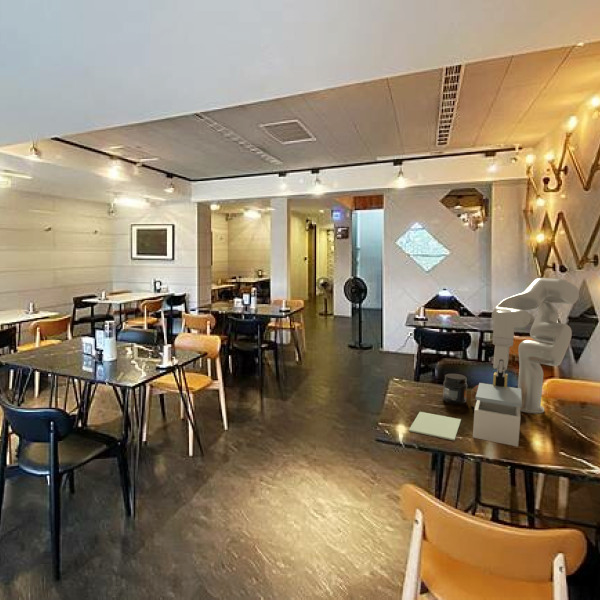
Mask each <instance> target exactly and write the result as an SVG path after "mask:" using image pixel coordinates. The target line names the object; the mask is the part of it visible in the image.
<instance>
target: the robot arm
mask: <svg viewBox="0 0 600 600" xmlns="http://www.w3.org/2000/svg"><path fill="white" fill-rule="evenodd" d="M579 298H580V291H579V288H578V287H577V286H576V285H574V284H573V283H571V282H570V281H568V280H565V279H563V278H554V277H553V278H550V277H539V278H538V277H537V278H535V279H534V280H533V281H532V282H531V283H530V284H529V285H528V286H527V287H526V288H525V289H524V290H523V291H522V292H521V293H518V294H515V295H512V296H510V297H506V298H504V299H503V300H501V301H500V302H498V304H497V305H496V306H495V307H494V309H493V311H492V313H491V320H492V322H493V330H492V345H494V350H493V351H494V353H493V370H495V369H496V373H497V376H496V384H495V385H496V386H501V387H504V382H505V377H504V374H506V373H505V371H506V370H507V369H508V363H509V358H510V357H509V356H510V347H513V346H514V337H515V328H516V329H517V328H518V329H521V328H525V327H526V326H528V325H529V323H530V321H531V314H530V313H529V312H528V310H529V311H530V310H534V309H537V313H536V316H535V318H534V321H533V322H532V325H531V328H530V330H529V336H530V337H531V339H525V340H522V341H521V342H520V343H519V344H518V351H517V352H518V363H519V365H518V366H519V371H518V381H517V382H518V383H517V388H520V389H521V396H522V407H520V412H523V413H526V414H535V415H536V414H543V413H544V412H545V408H544V407H543V406H542V404H541V403H542V395H543V394H542V393H543V381H544V370H543V367H542V366H541V364H542V365H545V366H552V367H558V366H560V365H561V364H562V362H563V359H564V358H565V355H566V353H567V351H568V348H569V346H570V342H571V339H572V335H573V334H572V332H573V331H572V328H571V326H569V325H568V324H566V323H562V322H558V320H559V318H560V314H559V311H558V310H557V308H556V307H555V306H554V304H563V305H573V304H575V303H576V302H577V301H578V300H579Z"/></svg>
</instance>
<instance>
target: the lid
mask: <svg viewBox="0 0 600 600" xmlns="http://www.w3.org/2000/svg"><path fill="white" fill-rule="evenodd" d="M496 376H497V371H495V372H494V373H493V377H492V378H493V381H492V384H491V383H484V382H479V383H478V385H479V386H478V390H477V394H476V400H480V401H481V402H487V403H494V404H500V405H506V406H512V407H516V406H518V407H522V396H521V389H520V388H518V387H511V386H508V376H509V375H508V373H504V377H505V382H504V387H501V386H496V385H495V384H496Z"/></svg>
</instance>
